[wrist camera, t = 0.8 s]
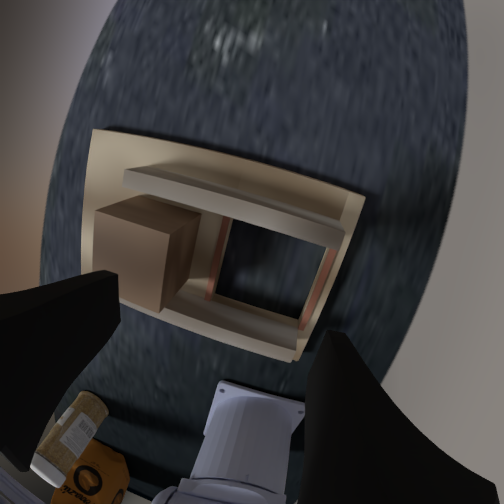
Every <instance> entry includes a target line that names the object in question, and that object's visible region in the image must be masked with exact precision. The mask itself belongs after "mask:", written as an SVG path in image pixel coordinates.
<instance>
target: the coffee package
mask: <svg viewBox="0 0 504 504" xmlns="http://www.w3.org/2000/svg"><path fill="white" fill-rule="evenodd" d="M65 477H66V480H65V481H64V483H63V484H62V486H61V487H60V488H57V487H56V489H55V491H54V495H53V497H52V501H51V504H121V502H122V500H123V497H124V495H125V492H126V489H127V486H128V483H129V481H130V477H129V472H128V468H127V465H126V462H125V458H124V456H123V455H122V454H120V453H117V452H115V451H114V450H113V449H111V448H110V447H108V446H105V445H103V444H102V443H101V442H98V441H97V440H95V439H93V438H92V439H91V440H90V442H89V443H88V445H87V446H86V448H85V449H84V451H83V452H82V454H81V455H80V457H79V458H78V460H76V462H75V463H74V465H73V466H72V468H71V469H70V471H69V472H68V473H67V476H65Z"/></svg>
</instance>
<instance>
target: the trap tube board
mask: <svg viewBox="0 0 504 504" xmlns="http://www.w3.org/2000/svg"><path fill="white" fill-rule="evenodd" d="M135 196H142V197H146V198H149V199H153V200H156V201H160V202H163V203H167V204H170V205H174V206H177V207H181V208H184V209H188V210H191V211H194V212H198V213H201V214H202V215H201V219H200V224H199V229H198V234H197V239H196V244H195V249H194V254H193V259H192V264H191V269H190V275H189V279H188V280H187V282H186V283H185V284H184V285H183V286H182V287H181V289H180V290H179V291H178V292H177V293H176V294H175V296H174V297H173V298H172V299H171V300H170V301H169V303H168V304H167V305H166V306H165V307H164V309H163V310H162V311H161V312H160V313H159V314H158V313H156V312H153V311H151V310H148V309H146V308H143V307H141V306H138V305H136V304H134V303H131V302H129V301H127V300H124V299H122V298H120V297H119V302H120V303H122V304H125V305H127V306H129V307H132V308H134V309H136V310H139V311H141V312H143V313H146V314H148V315H151V316H153V317H156V318H158V319H161V320H163V321H166V322H168V323H171V324H174V325H176V326H179V327H181V328H184V329H187V330H189V331H192V332H195V333H198V334H200V335H203V336H206V337H209V338H212V339H215V340H218V341H221V342H224V343H227V344H230V345H233V346H236V347H239V348H242V349H245V350H248V351H252V352H255V353H258V354H261V355H265V356H268V357H272V358H275V359H279V360H282V361H286V362H289V363H291V361H292V360H296V361H298V360H299V358H300V356H301V354H302V352H303V350H304V348H305V346H306V343H307V341H308V339H309V337H310V335H311V333H312V331H313V329H314V326H315V324H316V322H317V320H318V318H319V315H320V313H321V311H322V309H323V306H324V304H325V302H326V299H327V297H328V295H329V292H330V290H331V288H332V285H333V283H334V281H335V278H336V276H337V273H338V271H339V268H340V266H341V263H342V261H343V258H344V256H345V253H346V251H347V248H348V245H349V243H350V240H351V237H352V235H353V232H354V229H355V227H356V224H357V221H358V218H359V215H360V213H361V210H362V207H363V204H364V201H365V198H366V197H364V196H363V195H361V194H358V193H356V192H353V191H350V190H347V189H344V188H342V187H339V186H336V185H333V184H330V183H327V182H324V181H321V180H318V179H315V178H312V177H308V176H305V175H302V174H299V173H296V172H292V171H289V170H286V169H282V168H279V167H275V166H272V165H268V164H265V163H261V162H258V161H254V160H250V159H247V158H243V157H239V156H235V155H231V154H227V153H223V152H219V151H215V150H210V149H206V148H202V147H197V146H193V145H188V144H183V143H179V142H174V141H169V140H164V139H158V138H153V137H148V136H142V135H136V134H130V133H124V132H118V131H111V130H104V129H93V133H92V138H91V144H90V150H89V157H88V164H87V172H86V180H85V190H84V201H83V215H82V237H81V275H83V274H86V273H90V272H92V257H93V231H94V216H95V210H97V209H100V208H103V207H106V206H108V205H111V204H114V203H117V202H120V201H123V200H126V199H129V198H132V197H135ZM233 218H234V219H237V220H241V221H244V222H247V223H251V224H254V225H257V226H260V227H264V228H267V229H270V230H273V231H277V232H280V233H283V234H286V235H289V236H293V237H296V238H299V239H302V240H305V241H308V242H312V243H315V244H318V245H321V246H324V247H327V248H326V251H325V253H324V256H323V259H322V261H321V264H320V267H319V269H318V272H317V275H316V277H315V280H314V282H313V285H312V287H311V290H310V292H309V295H308V297H307V300H306V302H305V305H304V307H303V310H302V312H301V314H300V317H299V319H294V318H291V317H288V316H284V315H281V314H278V313H274V312H271V311H268V310H265V309H261V308H258V307H255V306H252V305H249V304H246V303H242V302H239V301H236V300H233V299H230V298H227V297H224V296H221V295H218V294H215V291H216V287H217V283H218V279H219V274H220V270H221V266H222V262H223V258H224V254H225V250H226V246H227V242H228V238H229V234H230V230H231V226H232V222H233Z"/></svg>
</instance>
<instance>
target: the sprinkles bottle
mask: <svg viewBox="0 0 504 504" xmlns="http://www.w3.org/2000/svg"><path fill="white" fill-rule="evenodd" d="M108 414H109V411H108V408H107V406H106V405H105V404H104V402H103V401H102V400H101V399H100V398H98V397H97V396H96V395H94V394H93V393H90V392H88V391H81V392H80V393H79V395H78V397H77V398H76V400H75V401H74V402H73V403H72V405H71V406H70V407H69V408H68V409H67V410H66V411H65V413H64V414H63V415H62V416H61V418H60V419H59V420H58V422H57V423H56V424H55V426H54V427H53V428H52V430H51V431H50V433H49V434H48V436H47V437H46V438H45V440H44V441H43V442H42V444H41V445H40V446H39V448H38V449H37V450H36V451H35V453H34V456H33V459H32V462H31V465H30V467H31V469H32V470H33V471H35V472H36V473H37V474H38V475H39V476H40V477H42V478H43V479H44V480H46V481H47V482H49V483H50V484H51V485H53V486H55V487H57V488H60V487H61V486H62V484H63V483H64V481H65V480H66V477H65V476H67V473H68V472H69V471H70V469H71V468H72V466H73V465H74V463H75V462H76V460H78V458H79V457H80V455H81V454H82V452H83V451H84V449H85V448H86V446H87V445H88V443H89V442H90V440H91V439H92V437H93V436H94V434H95V433H96V431H97V428H98V427H99V426H100V424H101V423H102V421H103V420H104V418H105V417H107V416H108Z"/></svg>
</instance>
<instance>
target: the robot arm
mask: <svg viewBox="0 0 504 504" xmlns="http://www.w3.org/2000/svg"><path fill="white" fill-rule="evenodd" d="M120 322H121V318H120V303H119V282H118V274H116V273H113V272H110V271H107V270H100V271H95V272H90V273H86V274H83V275H79V276H75V277H72V278H68V279H65V280H61V281H58V282H55V283H51V284H47V285H43V286H39V287H35V288H31V289H28V290H23V291H18V292H13V293H7V294H0V454H1V455H2V456H3V457H4V458H5V459H6V460H7V461H8V462H9V463H11V464H12V465H13V466H14V467H15V468H16V469H18V470H19V471H20V472H27V471H29V468H30V465H31V462H32V459H33V456H34V453H35V451H36V448H37V445H38V443H39V441H40V438H41V436H42V434H43V432H44V429H45V427H46V425H47V423H48V422H49V420H50V418H51V416H52V414H53V412H54V410H55V409H56V407H57V405H58V404H59V402H60V400H61V399H62V397H63V396H64V394H65V392H66V391H67V389H68V388H69V387H70V385H71V384H72V383H73V381H74V380H75V379H76V378H77V377H78V375H79V374H80V373H81V372H82V371H83V370H84V368H85V367H86V366H87V365H88V364H89V363H90V362H91V360H92V359H93V358H94V357H95V356H96V355H97V353H98V352H99V351H100V350H101V349H102V348H103V347H104V345H105V344H106V343H107V342H108V340H109V339H110V337H111V336H112V334H113V333H114V331H115V330H116V328H117V326H118V325H119V323H120ZM222 389H224V390H222ZM304 416H305V447H304V467H303V474H302V481H301V487H300V492H299V497H298V502H297V504H500V503H499V498H498V494H497V490H496V486H495V484H494V483H492V482H490V481H489V480H487V479H485V478H483V477H481V476H479V475H478V474H476V473H474V472H472V471H471V470H469V469H467V468H466V467H464V466H463V465H461V464H460V463H458V462H457V461H455V460H454V459H453V458H451V457H450V456H449V455H447V454H446V453H445V452H444V451H442V450H441V449H439V448H438V447H437V446H436V445H435V444H434V443H433V442H432V441H430V440H429V439H428V438H427V437H426V436H425V435H424V434H423V433H422V432H420V431H419V429H418V428H417V427H415V426H414V424H413V423H412V422H411V421H410V420H409V419H408V418H407V417H406V416H405V415H404V414H403V413H402V411H401V410H400V409H399V408H398V407H397V406H396V405H395V404H394V402H393V401H392V400H391V398H390V397H389V396H388V394H387V393H386V392H385V391H384V389H383V388H382V387H381V385H380V384H379V383H378V381H377V380H376V378H375V377H374V376H373V374H372V373H371V371H370V370H369V368H368V367H367V365H366V364H365V362H364V361H363V359H362V358H361V356H360V355H359V353H358V352H357V350H356V349H355V347H354V346H353V344H352V342H351V341H350V339H349V338H348V337H347V335H346V334H345V333H342V332H337V331H332V330H327V331H326V334H325V336H324V339H323V341H322V343H321V346H320V348H319V351H318V353H317V356H316V358H315V360H314V363H313V365H312V367H311V370H310V372H309V374H308V380H307V388H306V396H305V403H303V402H299V401H295V400H291V399H287V398H283V397H279V396H275V395H271V394H268V393H264V392H260V391H257V390H253V389H250V388H247V387H243V386H240V385H237V384H234V383H230V382H227V381H220V382H219V383H218V386H217V389H216V393H215V396H214V399H213V403H212V406H211V409H210V413H209V416H208V420H207V423H206V426H205V430H204V433H203V434H204V436H205V438H204V441H203V444H202V446H201V449H200V452H199V454H198V457H197V460H196V462H195V465H194V468H193V470H192V473H191V476H190V478H189V479H186V478H182V479H181V482H180V484H179V487H175V486H170V487H168V488H166V489H165V490H163V491H161V492H160V493H159V494H158V495H157V496H156V497H155V498H154V500H153V501H152V503H151V504H285V501H286V495H284V489H285V482H286V475H287V467H288V459H289V450H290V441H291V434H292V433H293V432H294V430H295V429H296V427H297V426H298V425H299V423H300V422H301V420H302V419H303V417H304ZM0 490H1V491H2V492H3V493H4V494H5V495H6V496H7V497H8V498H9V499H11V500H12V501H13V502H14V503H15V504H45V503H44V502H43V501H41V500H40V499H39V498H37V497H36V496H34V495H33V494H32V493H31V492H29V491H28V490H27V489H26V488H24V487H23V486H22V485H21V484H20V483H18V482H17V481H16V480H15V479H14V478H12V477H11V476H10V475H9V474H8V473H7V472H6V471H5V470H4V469H2V468H1V467H0ZM0 504H11V503H10V502H9V501H8V500H6V499H5V498H4V497H2V496H1V495H0Z"/></svg>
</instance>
